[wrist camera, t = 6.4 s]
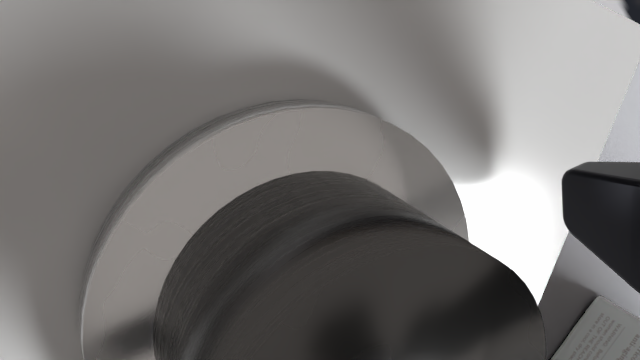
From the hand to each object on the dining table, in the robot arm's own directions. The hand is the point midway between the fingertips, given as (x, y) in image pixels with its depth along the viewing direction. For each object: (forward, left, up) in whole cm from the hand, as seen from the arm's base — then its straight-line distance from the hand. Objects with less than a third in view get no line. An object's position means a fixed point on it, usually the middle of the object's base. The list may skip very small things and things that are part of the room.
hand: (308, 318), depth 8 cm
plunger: (0, 0, -6) cm, 6 cm away
